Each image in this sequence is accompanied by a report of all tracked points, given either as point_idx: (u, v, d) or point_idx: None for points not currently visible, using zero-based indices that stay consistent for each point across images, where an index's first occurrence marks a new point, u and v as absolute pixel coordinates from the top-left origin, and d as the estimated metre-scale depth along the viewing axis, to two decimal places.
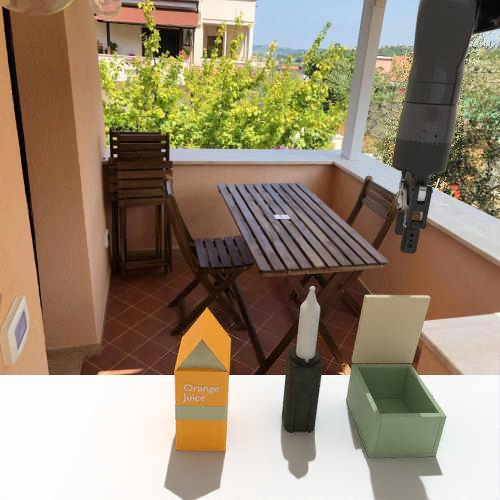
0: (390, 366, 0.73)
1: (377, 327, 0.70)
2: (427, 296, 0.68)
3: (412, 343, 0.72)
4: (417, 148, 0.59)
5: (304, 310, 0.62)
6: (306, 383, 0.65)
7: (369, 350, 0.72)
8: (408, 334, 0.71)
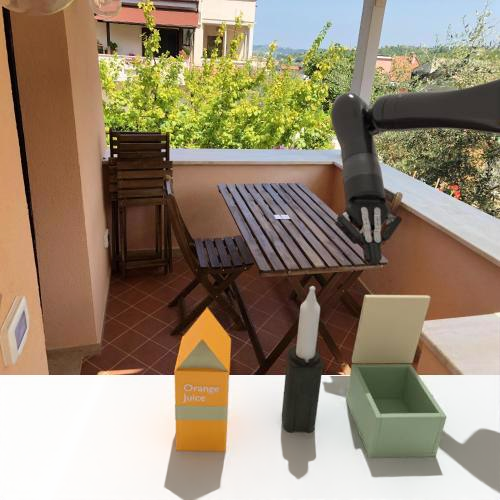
0: (390, 366, 0.73)
1: (377, 327, 0.70)
2: (427, 296, 0.68)
3: (412, 343, 0.72)
4: (344, 190, 0.85)
5: (303, 310, 0.62)
6: (306, 383, 0.65)
7: (369, 350, 0.72)
8: (408, 334, 0.71)
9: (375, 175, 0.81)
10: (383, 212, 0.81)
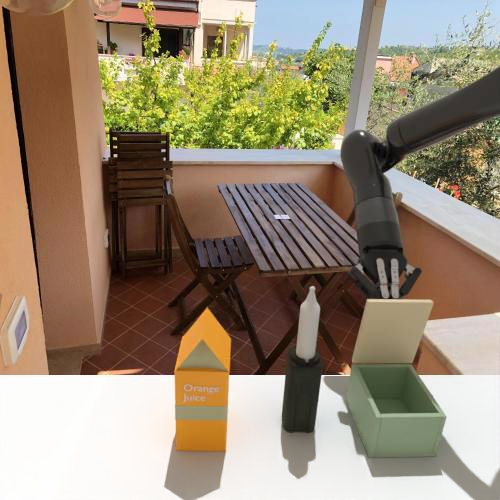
0: (390, 366, 0.73)
1: (378, 330, 0.69)
2: (430, 300, 0.67)
3: (413, 345, 0.72)
4: (357, 237, 0.77)
5: (303, 310, 0.62)
6: (306, 383, 0.65)
7: (369, 351, 0.72)
8: (410, 337, 0.70)
9: (391, 222, 0.74)
10: (401, 263, 0.73)
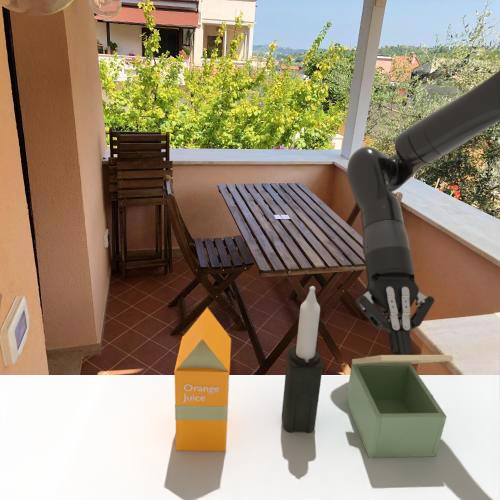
0: (390, 366, 0.73)
1: (385, 362, 0.66)
2: (450, 357, 0.61)
3: None
4: (365, 262, 0.73)
5: (303, 310, 0.62)
6: (306, 383, 0.65)
7: (371, 363, 0.71)
8: None
9: (402, 248, 0.69)
10: (412, 291, 0.69)
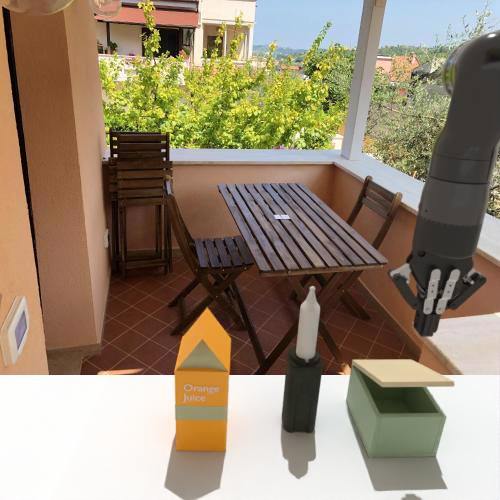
0: None
1: None
2: (451, 384, 0.61)
3: None
4: (416, 220, 0.54)
5: (304, 310, 0.62)
6: (306, 383, 0.65)
7: None
8: None
9: (474, 227, 0.50)
10: (463, 270, 0.55)
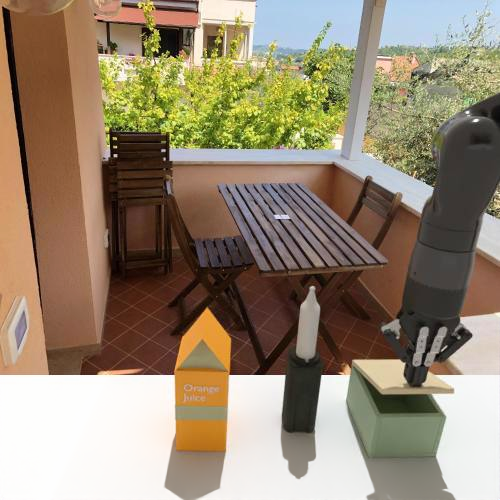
0: None
1: None
2: (451, 391, 0.61)
3: None
4: (406, 279, 0.57)
5: (303, 310, 0.62)
6: (306, 383, 0.65)
7: None
8: None
9: (460, 291, 0.53)
10: (450, 327, 0.57)
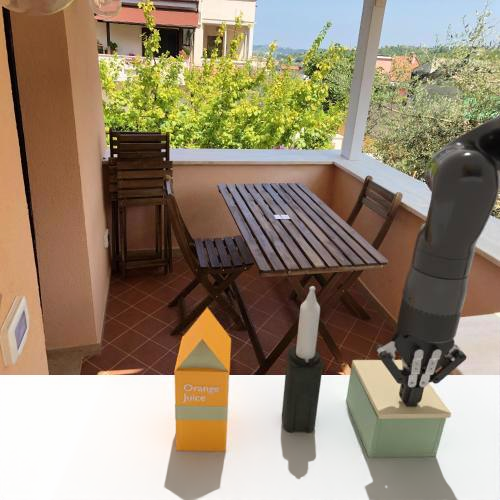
0: None
1: None
2: (448, 415, 0.62)
3: None
4: (401, 302, 0.58)
5: (303, 310, 0.62)
6: (306, 383, 0.65)
7: None
8: None
9: (453, 316, 0.54)
10: (444, 349, 0.59)
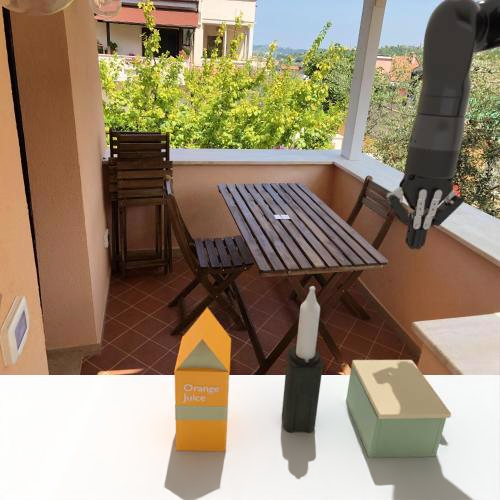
0: None
1: None
2: (448, 415, 0.62)
3: None
4: (408, 151, 0.68)
5: (303, 310, 0.62)
6: (306, 383, 0.65)
7: None
8: None
9: (452, 152, 0.64)
10: (445, 192, 0.69)
